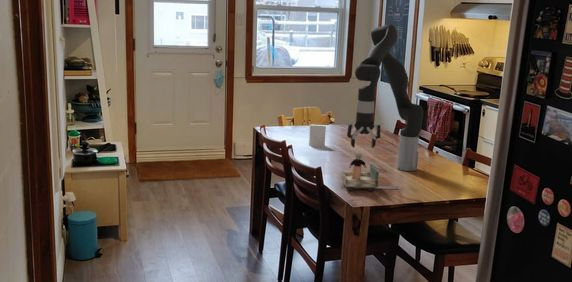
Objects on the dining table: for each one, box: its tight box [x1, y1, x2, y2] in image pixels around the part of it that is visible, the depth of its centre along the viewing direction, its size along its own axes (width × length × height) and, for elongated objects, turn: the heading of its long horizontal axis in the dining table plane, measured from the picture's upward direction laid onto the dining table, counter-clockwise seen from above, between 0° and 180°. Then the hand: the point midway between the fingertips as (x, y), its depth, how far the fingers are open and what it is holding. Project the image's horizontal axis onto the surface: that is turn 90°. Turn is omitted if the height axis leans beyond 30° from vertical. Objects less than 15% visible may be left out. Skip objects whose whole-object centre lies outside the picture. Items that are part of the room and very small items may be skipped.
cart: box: [341, 163, 380, 193], centre depth 261 cm, size 14×13×9 cm
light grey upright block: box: [308, 123, 327, 149], centre depth 335 cm, size 9×9×12 cm
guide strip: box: [339, 184, 400, 190], centre depth 262 cm, size 26×3×1 cm, turn 93°
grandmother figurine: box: [348, 151, 367, 180], centre depth 259 cm, size 8×4×13 cm, turn 106°
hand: (362, 147), depth 258 cm, fingers open, 8 cm apart
